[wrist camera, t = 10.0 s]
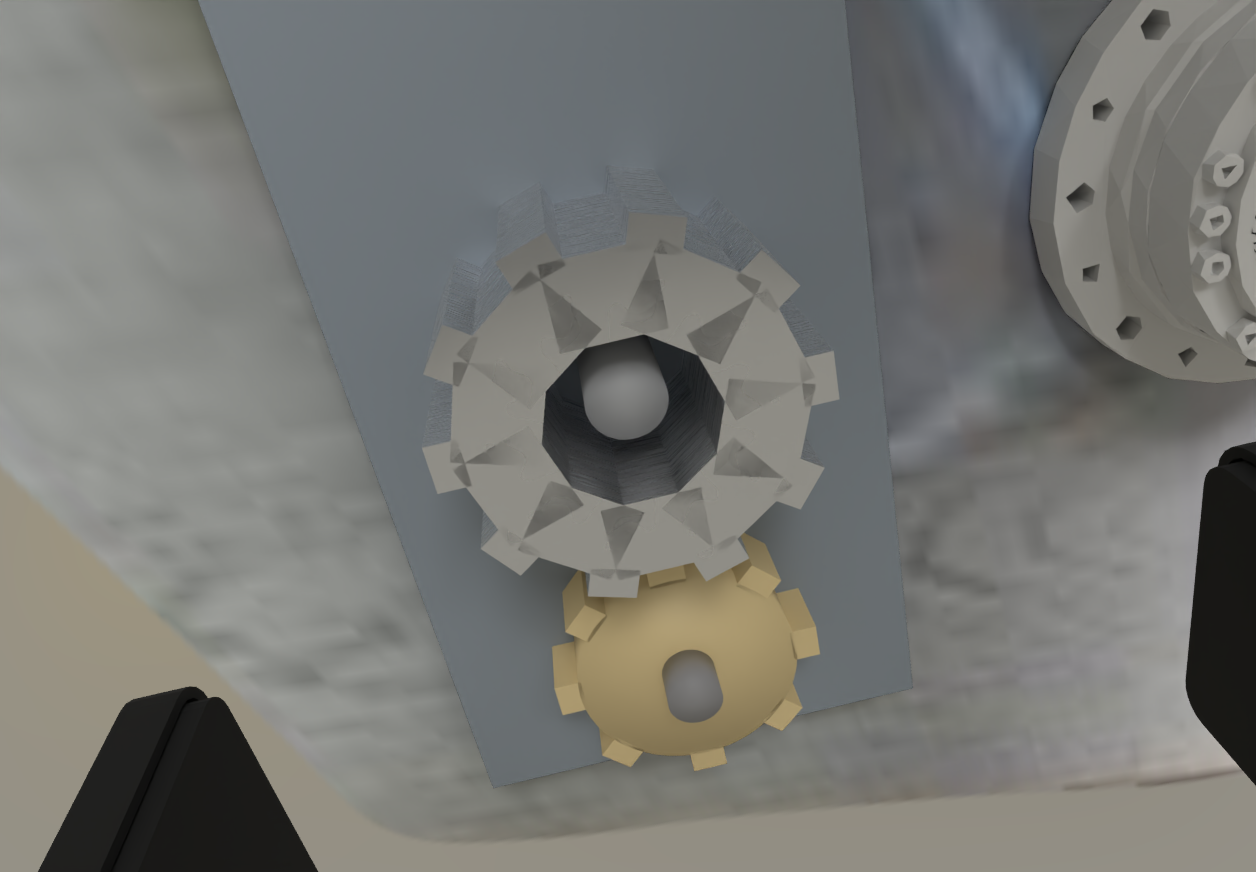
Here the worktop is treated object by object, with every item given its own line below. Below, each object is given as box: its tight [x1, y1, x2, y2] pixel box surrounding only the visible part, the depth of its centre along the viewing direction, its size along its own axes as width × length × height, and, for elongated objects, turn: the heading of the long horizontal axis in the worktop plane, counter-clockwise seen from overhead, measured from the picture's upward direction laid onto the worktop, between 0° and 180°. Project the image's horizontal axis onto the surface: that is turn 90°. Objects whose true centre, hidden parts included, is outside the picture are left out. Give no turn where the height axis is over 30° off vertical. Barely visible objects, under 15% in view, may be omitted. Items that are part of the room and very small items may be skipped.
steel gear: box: [422, 165, 839, 598], centre depth 18 cm, size 7×7×4 cm
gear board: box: [198, 0, 913, 788], centre depth 18 cm, size 25×11×4 cm, turn 12°
